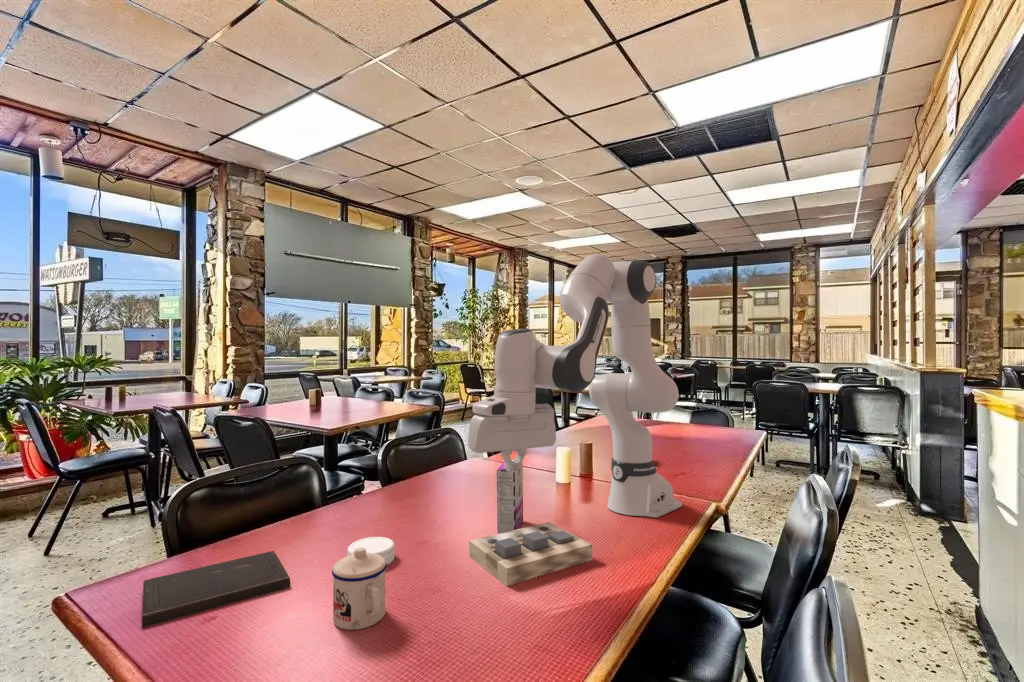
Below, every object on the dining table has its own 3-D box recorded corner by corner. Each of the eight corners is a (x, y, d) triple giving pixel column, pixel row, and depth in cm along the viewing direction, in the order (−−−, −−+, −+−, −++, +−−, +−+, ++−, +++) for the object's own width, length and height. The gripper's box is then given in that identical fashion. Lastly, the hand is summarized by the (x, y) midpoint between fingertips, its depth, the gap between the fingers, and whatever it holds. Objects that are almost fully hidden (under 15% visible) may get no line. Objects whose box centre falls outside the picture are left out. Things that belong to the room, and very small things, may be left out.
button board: (548, 536, 120) (548, 520, 120) (592, 560, 107) (592, 542, 107) (469, 556, 109) (469, 539, 109) (506, 586, 95) (506, 566, 95)
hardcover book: (143, 592, 94) (143, 580, 94) (273, 560, 108) (273, 550, 108) (142, 631, 81) (142, 617, 81) (290, 590, 95) (290, 578, 95)
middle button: (537, 544, 109) (537, 531, 109) (548, 550, 105) (548, 537, 105) (522, 548, 107) (522, 534, 107) (533, 555, 103) (533, 541, 103)
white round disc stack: (403, 554, 110) (403, 539, 110) (377, 574, 101) (377, 557, 101) (365, 548, 113) (366, 533, 113) (337, 566, 104) (337, 550, 104)
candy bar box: (505, 519, 132) (505, 458, 132) (523, 520, 131) (523, 459, 131) (495, 535, 121) (495, 468, 121) (515, 536, 120) (515, 469, 120)
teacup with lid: (323, 615, 85) (324, 548, 85) (373, 597, 91) (373, 535, 91) (350, 647, 76) (351, 572, 76) (403, 625, 82) (404, 556, 82)
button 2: (562, 543, 113) (562, 530, 113) (573, 549, 109) (573, 536, 109) (548, 547, 110) (548, 534, 110) (559, 553, 107) (559, 539, 107)
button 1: (511, 551, 105) (511, 537, 105) (521, 558, 102) (521, 544, 102) (495, 555, 103) (495, 541, 103) (504, 562, 100) (504, 548, 100)
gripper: (545, 402, 112) (544, 462, 111) (465, 404, 101) (463, 472, 100) (562, 404, 106) (561, 468, 106) (480, 407, 95) (478, 479, 95)
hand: (513, 470), depth 103 cm, fingers closed
